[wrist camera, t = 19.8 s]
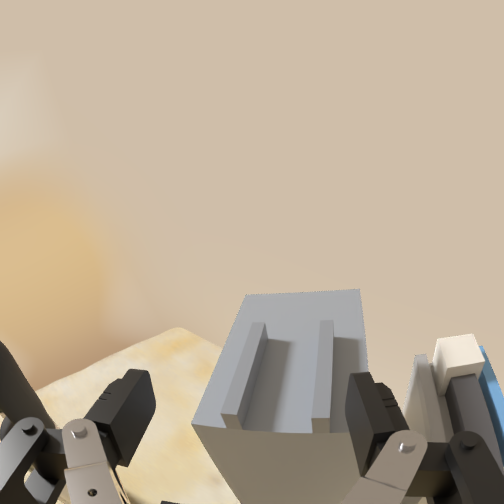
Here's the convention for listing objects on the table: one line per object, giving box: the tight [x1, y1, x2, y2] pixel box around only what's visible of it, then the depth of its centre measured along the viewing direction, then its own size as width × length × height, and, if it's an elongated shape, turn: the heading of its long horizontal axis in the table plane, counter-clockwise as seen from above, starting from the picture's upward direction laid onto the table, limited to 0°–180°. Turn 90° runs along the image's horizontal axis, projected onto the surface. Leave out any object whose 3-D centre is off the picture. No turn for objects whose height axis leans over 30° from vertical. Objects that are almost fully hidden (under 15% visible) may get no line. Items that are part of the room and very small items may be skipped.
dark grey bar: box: [431, 334, 504, 475], centre depth 16 cm, size 22×4×4 cm, turn 168°
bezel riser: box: [400, 346, 504, 504], centre depth 25 cm, size 14×8×24 cm, turn 168°
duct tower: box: [191, 289, 368, 504], centre depth 27 cm, size 14×10×34 cm
